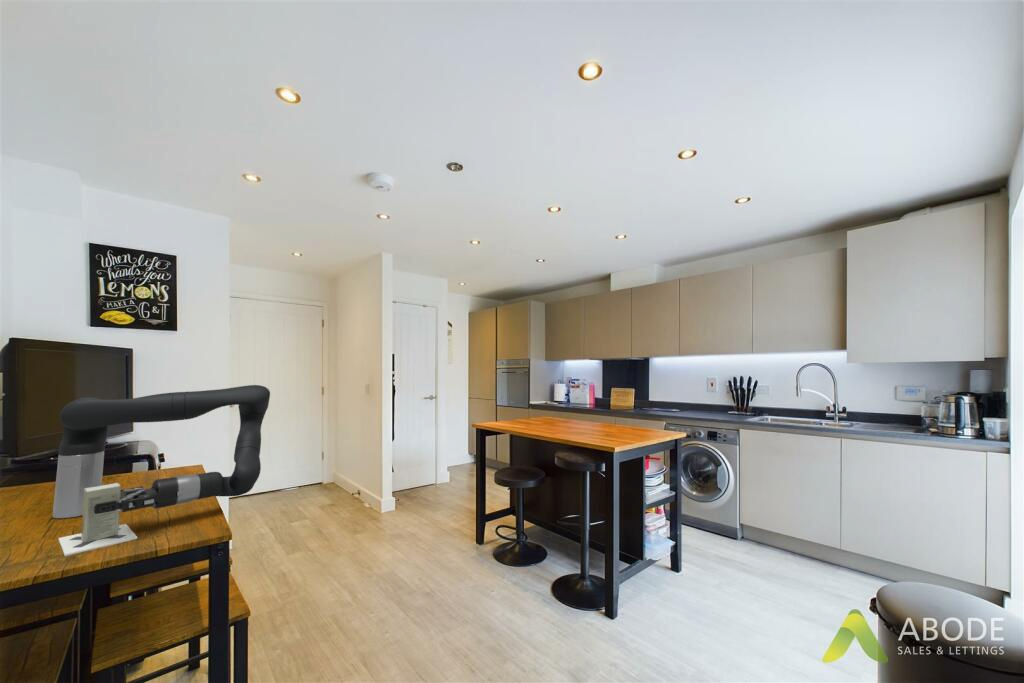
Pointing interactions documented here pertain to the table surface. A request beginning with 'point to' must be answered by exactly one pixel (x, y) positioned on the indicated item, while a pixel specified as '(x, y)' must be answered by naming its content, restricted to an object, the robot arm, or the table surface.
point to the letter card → (76, 545)
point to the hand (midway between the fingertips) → (91, 505)
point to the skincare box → (103, 522)
